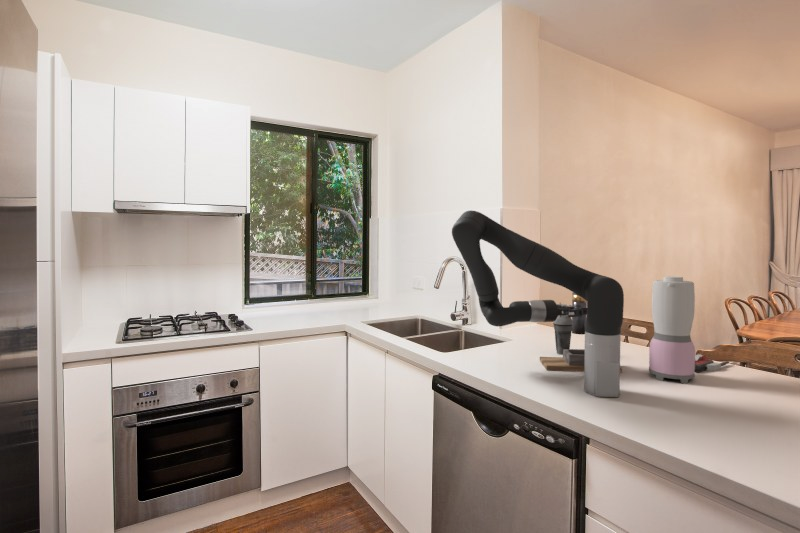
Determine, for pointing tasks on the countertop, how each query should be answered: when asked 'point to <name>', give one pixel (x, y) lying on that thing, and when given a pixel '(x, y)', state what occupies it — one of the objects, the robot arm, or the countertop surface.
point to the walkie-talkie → (706, 364)
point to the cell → (578, 322)
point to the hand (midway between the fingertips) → (586, 309)
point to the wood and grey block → (566, 361)
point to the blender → (672, 329)
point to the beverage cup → (562, 333)
